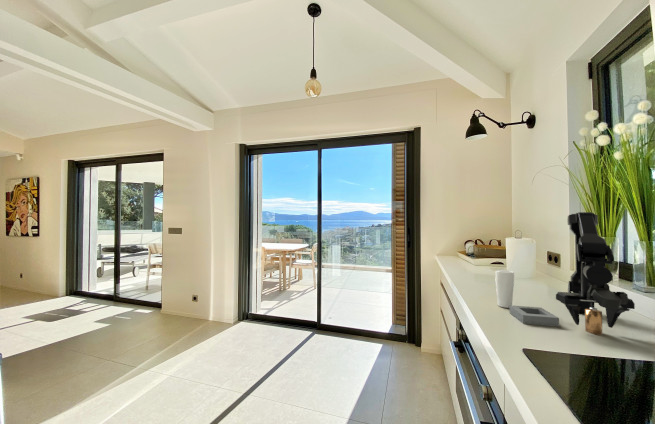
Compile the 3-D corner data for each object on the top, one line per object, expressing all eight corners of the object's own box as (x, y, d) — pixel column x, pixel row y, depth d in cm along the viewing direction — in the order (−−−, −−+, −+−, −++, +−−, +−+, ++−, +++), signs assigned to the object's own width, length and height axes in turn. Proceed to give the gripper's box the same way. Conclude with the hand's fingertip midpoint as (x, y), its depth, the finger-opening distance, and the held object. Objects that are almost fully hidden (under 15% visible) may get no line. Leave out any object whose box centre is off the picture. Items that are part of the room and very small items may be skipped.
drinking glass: (517, 309, 110) (517, 273, 110) (499, 308, 111) (499, 272, 111) (509, 304, 116) (509, 270, 117) (492, 303, 118) (492, 269, 118)
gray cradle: (541, 315, 103) (541, 307, 103) (559, 326, 93) (559, 317, 93) (509, 312, 106) (509, 305, 106) (523, 323, 95) (523, 315, 95)
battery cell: (596, 330, 90) (595, 306, 90) (605, 335, 86) (605, 310, 86) (582, 329, 91) (581, 305, 91) (590, 334, 87) (590, 309, 87)
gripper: (576, 282, 83) (576, 333, 83) (651, 286, 79) (652, 339, 78) (554, 275, 94) (555, 319, 93) (619, 278, 90) (620, 325, 89)
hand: (593, 325), depth 88 cm, fingers open, 9 cm apart
